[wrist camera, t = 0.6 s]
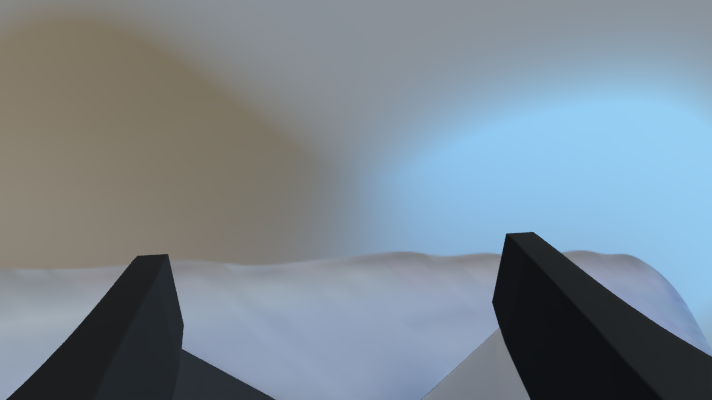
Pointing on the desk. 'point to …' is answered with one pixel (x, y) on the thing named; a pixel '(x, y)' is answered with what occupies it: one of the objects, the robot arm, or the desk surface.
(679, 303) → the desk surface
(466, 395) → the foam cup
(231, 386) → the back mat
